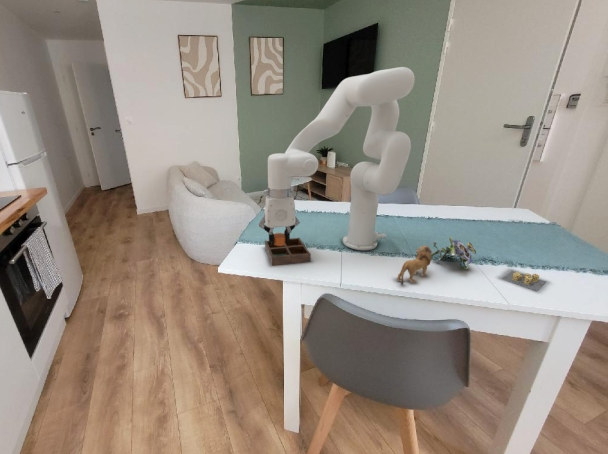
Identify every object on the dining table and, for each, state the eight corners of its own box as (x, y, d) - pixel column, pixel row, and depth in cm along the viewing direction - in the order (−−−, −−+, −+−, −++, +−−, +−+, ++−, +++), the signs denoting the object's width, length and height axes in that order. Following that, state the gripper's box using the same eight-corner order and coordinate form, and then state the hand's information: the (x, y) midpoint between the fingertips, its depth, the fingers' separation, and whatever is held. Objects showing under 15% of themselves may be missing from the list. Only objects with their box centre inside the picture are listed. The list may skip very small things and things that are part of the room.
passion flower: (460, 282, 96) (479, 268, 86) (424, 271, 99) (438, 256, 89) (463, 253, 101) (482, 237, 90) (429, 243, 104) (443, 226, 94)
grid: (299, 244, 115) (299, 237, 114) (310, 261, 102) (310, 254, 101) (264, 248, 114) (264, 240, 112) (271, 265, 101) (271, 257, 100)
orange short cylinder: (283, 240, 104) (283, 232, 103) (286, 245, 100) (286, 237, 99) (271, 241, 104) (271, 233, 103) (274, 246, 100) (274, 238, 98)
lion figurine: (414, 265, 97) (419, 241, 93) (431, 272, 93) (437, 246, 89) (392, 283, 88) (397, 257, 85) (411, 290, 84) (416, 263, 81)
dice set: (538, 280, 86) (540, 275, 85) (531, 286, 83) (534, 281, 83) (516, 273, 90) (518, 268, 89) (510, 279, 87) (511, 273, 87)
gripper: (255, 197, 90) (257, 249, 98) (308, 193, 92) (305, 245, 99) (252, 191, 97) (253, 240, 104) (301, 187, 99) (299, 236, 106)
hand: (279, 242), depth 102 cm, fingers closed on orange short cylinder, 4 cm apart
